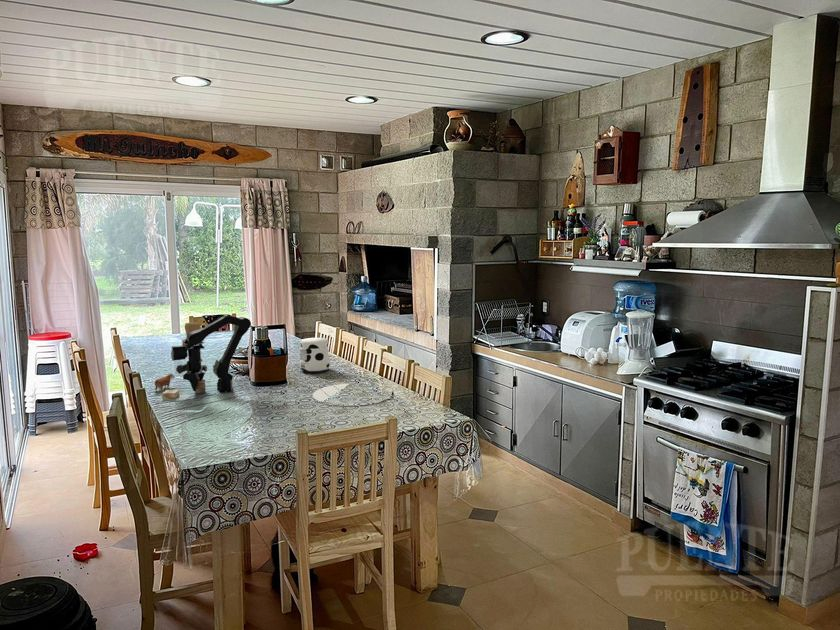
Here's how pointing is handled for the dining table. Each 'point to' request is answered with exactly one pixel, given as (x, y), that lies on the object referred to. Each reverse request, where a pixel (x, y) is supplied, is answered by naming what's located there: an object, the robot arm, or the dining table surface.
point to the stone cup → (191, 328)
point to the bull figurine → (163, 381)
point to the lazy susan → (332, 391)
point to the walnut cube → (201, 386)
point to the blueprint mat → (181, 397)
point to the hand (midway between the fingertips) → (196, 389)
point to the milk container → (314, 355)
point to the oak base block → (170, 394)
